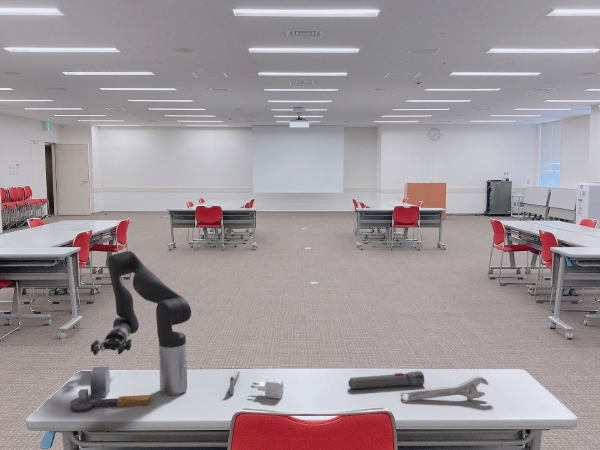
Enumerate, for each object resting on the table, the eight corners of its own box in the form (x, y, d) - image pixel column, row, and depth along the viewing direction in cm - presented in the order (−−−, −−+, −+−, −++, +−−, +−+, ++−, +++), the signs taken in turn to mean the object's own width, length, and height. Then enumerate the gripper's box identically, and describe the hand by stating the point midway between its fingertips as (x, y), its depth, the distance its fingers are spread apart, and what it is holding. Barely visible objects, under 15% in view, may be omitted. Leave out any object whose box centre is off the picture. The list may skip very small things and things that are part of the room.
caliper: (233, 396, 169) (232, 379, 168) (230, 396, 169) (229, 378, 168) (239, 373, 189) (239, 357, 188) (237, 373, 189) (236, 357, 188)
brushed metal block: (109, 391, 172) (108, 366, 171) (106, 397, 167) (105, 372, 166) (95, 391, 171) (94, 367, 170) (91, 398, 166) (90, 372, 165)
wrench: (401, 406, 167) (487, 397, 166) (402, 409, 165) (490, 399, 165) (399, 384, 166) (486, 374, 166) (400, 386, 164) (488, 376, 164)
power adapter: (249, 397, 167) (249, 380, 167) (254, 391, 172) (254, 375, 172) (280, 400, 165) (280, 384, 164) (284, 394, 169) (284, 378, 169)
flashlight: (347, 387, 176) (347, 374, 176) (418, 381, 181) (419, 369, 181) (351, 393, 171) (351, 379, 171) (424, 387, 176) (425, 374, 176)
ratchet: (151, 397, 167) (150, 382, 166) (147, 408, 159) (146, 392, 158) (74, 402, 163) (74, 386, 163) (67, 413, 155) (66, 396, 155)
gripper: (98, 329, 194) (86, 343, 178) (135, 328, 196) (126, 341, 180) (99, 347, 195) (87, 362, 179) (135, 346, 197) (127, 361, 181)
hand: (107, 352), depth 179 cm, fingers open, 8 cm apart
